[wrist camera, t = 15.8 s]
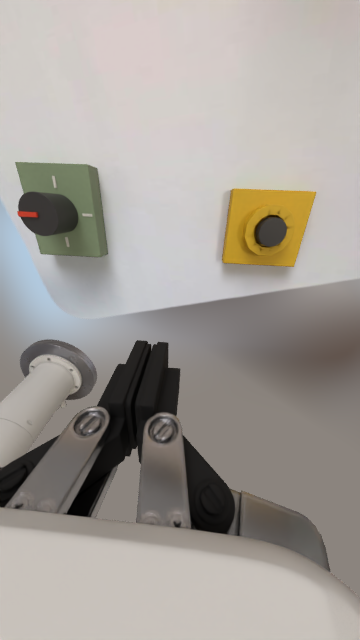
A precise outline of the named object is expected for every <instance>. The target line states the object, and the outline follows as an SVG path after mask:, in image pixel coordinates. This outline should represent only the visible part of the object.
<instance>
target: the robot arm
mask: <svg viewBox="0 0 360 640" xmlns="http://www.w3.org/2000/svg"><path fill="white" fill-rule="evenodd" d="M29 372H30V374H29V375H28V376H27V377H26V378H25V379H24V380H23V381H22V382H21V383H20V384H19V385H18V386H17V387H16V388H15V389H14V390H13V391H12V392H11V393H10V394H9V395H7V397H5V399H3V400H2V401H1V402H0V640H360V597H359V596H358V595H357V594H355V592H354V591H353V590H351V589H350V588H349V587H348V586H347V585H346V584H344V583H343V582H342V581H341V580H340V579H338V578H337V577H336V576H335V575H333V574H332V573H330V568H329V563H328V558H327V553H326V548H325V545H324V542H323V539H322V536H321V534H320V533H319V532H318V530H317V528H316V526H315V525H314V524H313V523H312V522H311V521H310V520H309V519H308V518H307V517H306V516H304V515H302V514H300V513H299V512H296V511H294V510H291V509H288V508H286V507H283V506H280V505H278V504H275V503H273V502H270V501H268V500H265V499H262V498H260V497H257V496H255V495H252V494H249V493H247V492H244V491H241V493H240V492H237V491H234V490H232V489H229V487H228V486H227V484H226V483H224V481H223V480H222V479H221V478H220V476H218V474H217V473H216V472H215V471H214V470H213V468H212V467H211V466H210V465H209V464H208V463H207V462H206V461H205V460H204V458H203V457H202V456H201V455H200V454H199V453H198V452H197V450H196V449H195V448H194V447H193V446H192V445H191V444H190V442H189V441H188V440H187V439H186V438H185V437H184V436H183V434H182V426H181V423H180V421H179V419H178V418H177V417H176V415H177V405H178V394H179V381H180V369H178V368H168V343H165V342H158V343H157V345H156V344H154V345H153V348H152V351H151V344H148V342H147V341H138V340H137V341H136V343H135V345H134V347H133V349H132V351H131V353H130V356H129V358H128V360H127V362H126V364H118V366H117V367H116V369H115V371H114V373H113V375H112V377H111V379H110V381H109V383H108V385H107V387H106V389H105V391H104V393H103V395H102V397H101V399H100V401H99V403H98V405H97V406H93V407H88V408H86V409H83V410H82V411H80V412H79V413H77V414H76V415H75V417H74V418H73V419H72V420H71V421H70V423H69V424H68V425H67V427H66V428H65V429H64V431H63V432H62V433H61V434H60V435H59V436H57V437H55V438H53V439H51V440H50V441H48V442H46V443H44V444H42V445H41V446H39V447H37V448H35V449H34V450H32V451H30V452H28V450H29V449H30V447H31V446H32V444H33V443H34V441H35V440H36V439H37V437H38V436H39V434H40V433H41V431H42V430H43V429H44V427H45V426H46V424H47V423H48V422H49V420H50V419H51V417H52V416H53V414H54V413H55V411H56V410H58V409H59V406H61V408H65V407H66V405H67V404H66V402H65V400H66V398H67V397H68V395H70V394H73V393H75V392H76V391H78V389H79V388H80V386H81V385H82V376H81V373H80V371H79V370H78V368H77V367H76V366H75V365H74V364H73V363H71V362H70V361H68V360H67V359H65V358H62V357H60V356H56V355H50V354H46V355H40V356H38V357H36V358H35V359H34V360H33V361H32V362H31V364H30V366H29ZM137 446H138V455H139V462H140V464H141V470H140V482H139V494H138V495H139V496H138V506H137V518H136V523H133V522H125V521H116V520H108V519H99V518H96V516H97V513H98V511H99V509H100V507H101V504H102V502H103V500H104V498H105V495H106V493H107V491H108V489H109V487H110V484H111V482H112V480H113V478H114V475H115V473H116V471H117V467H118V464H120V463H121V462H122V461H123V460H124V459H125V456H130V454H131V451H132V449H136V447H137ZM27 452H28V453H27Z"/></svg>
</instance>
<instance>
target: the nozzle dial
mask: <svg viewBox="0 0 360 640" xmlns="http://www.w3.org/2000/svg"><path fill="white" fill-rule="evenodd" d="M18 208H19V211H17V212H18V216H20V217H21V219H22V221H23V222H24V224H25V225H26V226H27V227H28V228H29V229H30V230H31V231H32V232H34V233H35V234H38V235H40V236H50V235H56V234H61V233H66V232H70V231H72V230H74V229H75V228H76V226H77V224H78V213H77V210H76V208H75V206H74V204H73V203H72V202H71V201H70V200H69V199H68V198H67V197H65V196H63V195H60V194H53V193H43V192H33V191H32V192H27V193H25V194H23V195H22V197H21V198H20V200H19V205H18Z"/></svg>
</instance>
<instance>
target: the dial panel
mask: <svg viewBox="0 0 360 640" xmlns="http://www.w3.org/2000/svg"><path fill="white" fill-rule="evenodd" d="M15 163H16V167H17V170H18V174H19V177H20V181H21V185H22V188H23V192H24V194H25V193H27V192H32V191H33V192H43V193H53V194H60V195H63V196H65V197H67V198H68V199H69V200H70V201H71V202H72V203H73V204H74V206H75V208H76V210H77V213H78V224H77V226H76V228H75V229H74V230H72V231H70V232H66V233H61V234H56V235H50V236H40V235H38V234H35V235H36V238H37V242H38V246H39V249H40V253H41V254H50V255H68V256H86V257H102V256H104V255H106V254H108V251H107V243H106V235H105V227H104V219H103V211H102V203H101V195H100V188H99V180H98V172H97V168H95V167H92V166H90V165H87V164H57V163H28V162H15Z"/></svg>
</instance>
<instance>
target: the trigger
mask: <svg viewBox="0 0 360 640" xmlns="http://www.w3.org/2000/svg"><path fill="white" fill-rule="evenodd" d="M286 233H287V226H286V223H285V222H284V221H283V220H282V219H280V218H275V217H269V218H266V219H264V220H263V221H261V222H260V223H259V225H258V227H257V229H256V238H257V240H258V242H259V243H261V244H262V245H264V246H267V247H273V246H276V245H278V244H279V243H281V242H282V241H283V239H284V238H285V236H286Z"/></svg>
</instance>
